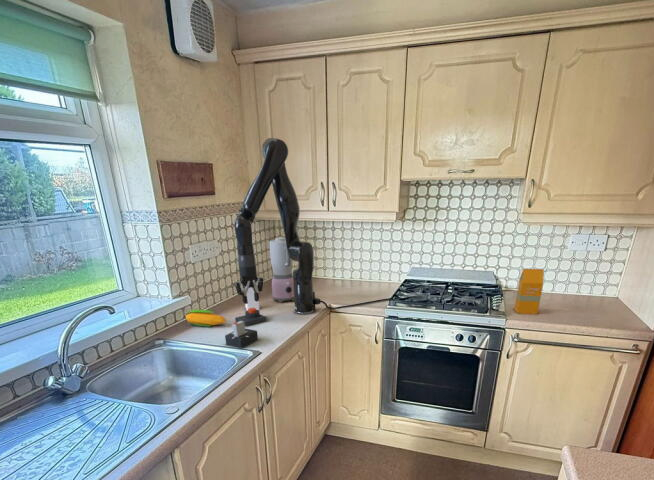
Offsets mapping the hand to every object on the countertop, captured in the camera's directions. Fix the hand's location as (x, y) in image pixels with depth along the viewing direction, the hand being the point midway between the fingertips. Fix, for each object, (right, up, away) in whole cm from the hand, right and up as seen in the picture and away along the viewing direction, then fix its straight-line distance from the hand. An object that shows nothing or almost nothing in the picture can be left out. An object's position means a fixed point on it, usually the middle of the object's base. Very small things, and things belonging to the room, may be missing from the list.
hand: (251, 302), depth 185 cm
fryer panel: (+1, -20, -22) cm, 29 cm away
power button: (0, -4, +2) cm, 5 cm away
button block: (0, -9, +1) cm, 9 cm away
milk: (-3, 0, +20) cm, 20 cm away
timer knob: (+1, -17, -25) cm, 31 cm away
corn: (-19, -11, -2) cm, 22 cm away
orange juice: (+129, -3, +9) cm, 129 cm away
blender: (+12, +6, +33) cm, 35 cm away
